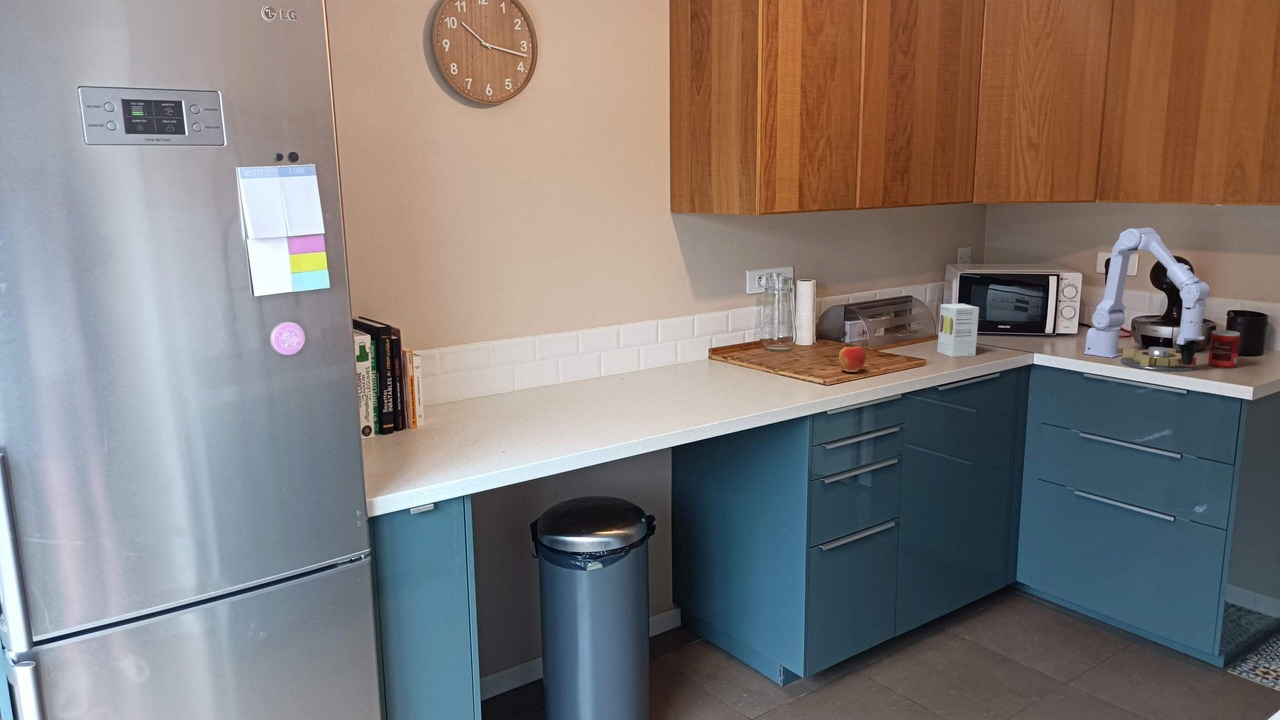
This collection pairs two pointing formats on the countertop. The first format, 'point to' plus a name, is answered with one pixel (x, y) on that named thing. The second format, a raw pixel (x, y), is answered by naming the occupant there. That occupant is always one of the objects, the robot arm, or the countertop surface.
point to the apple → (852, 358)
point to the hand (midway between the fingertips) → (1186, 364)
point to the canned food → (1224, 348)
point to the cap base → (1156, 353)
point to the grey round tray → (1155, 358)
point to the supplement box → (958, 330)
